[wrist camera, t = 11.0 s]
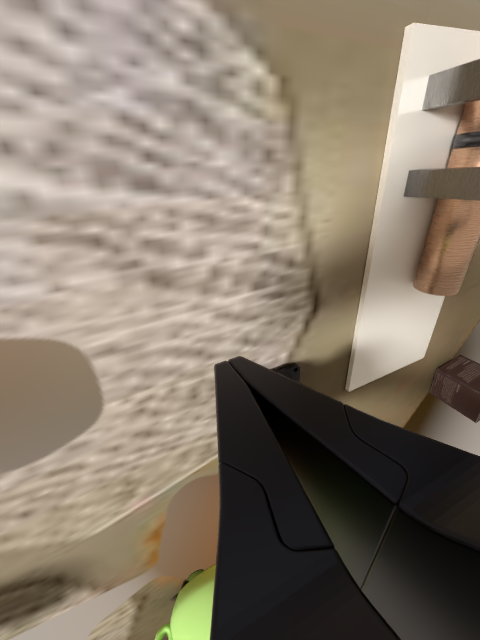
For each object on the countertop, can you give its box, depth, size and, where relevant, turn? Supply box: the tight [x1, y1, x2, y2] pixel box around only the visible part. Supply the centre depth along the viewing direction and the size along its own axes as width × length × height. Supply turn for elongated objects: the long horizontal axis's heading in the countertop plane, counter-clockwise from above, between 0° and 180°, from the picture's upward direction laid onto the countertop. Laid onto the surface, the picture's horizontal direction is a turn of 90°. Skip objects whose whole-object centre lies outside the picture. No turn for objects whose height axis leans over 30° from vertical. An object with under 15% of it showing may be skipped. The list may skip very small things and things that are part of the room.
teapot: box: [155, 564, 216, 640], centre depth 37 cm, size 22×15×13 cm
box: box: [430, 355, 480, 423], centre depth 42 cm, size 6×6×7 cm
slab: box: [345, 23, 480, 392], centre depth 28 cm, size 33×14×1 cm, turn 5°
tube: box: [413, 100, 480, 296], centre depth 23 cm, size 18×4×4 cm, turn 4°
